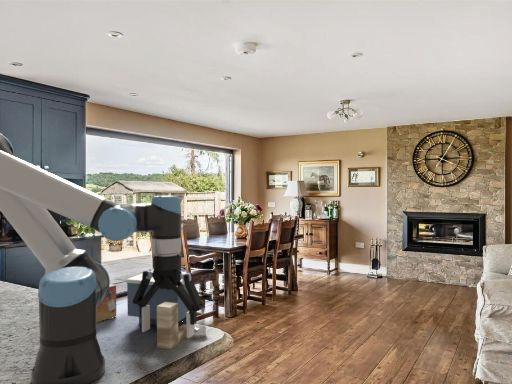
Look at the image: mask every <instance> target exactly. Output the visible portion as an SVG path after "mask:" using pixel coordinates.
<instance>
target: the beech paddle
mask: <svg viewBox="0 0 512 384" xmlns="http://www.w3.org/2000/svg"><path fill="white" fill-rule="evenodd" d="M186 338H187V325H186V324H183V325H181V326H180V327H178V303H170V302H164V303H162V304H160V305H158V306H157V325H156V341H157V342H156V347H157V349H158V348H159V349H163V350H164V349H166V350H171V349H173V348H175V347H176V346H177V345H178V344H179V342H181V341H182V340H184V339H186Z"/></svg>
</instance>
